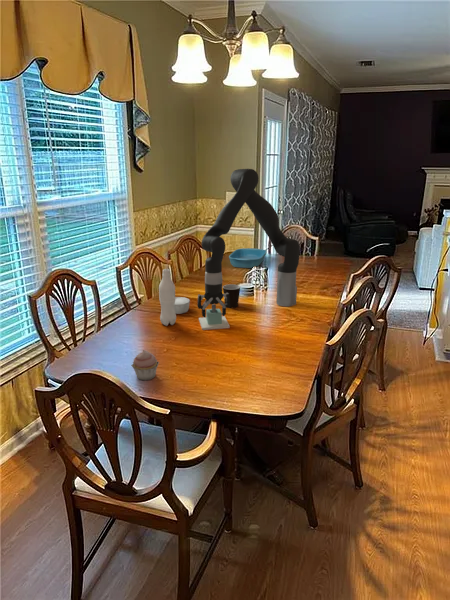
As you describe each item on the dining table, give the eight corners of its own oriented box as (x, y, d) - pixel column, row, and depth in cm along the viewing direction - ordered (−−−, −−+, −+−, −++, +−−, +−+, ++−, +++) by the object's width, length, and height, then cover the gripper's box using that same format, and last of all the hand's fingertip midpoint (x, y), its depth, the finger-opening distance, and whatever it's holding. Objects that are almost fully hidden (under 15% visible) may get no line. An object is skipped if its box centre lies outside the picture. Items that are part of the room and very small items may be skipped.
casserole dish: (237, 256, 323) (238, 246, 321) (268, 258, 318) (268, 248, 316) (225, 269, 290) (225, 258, 287) (259, 271, 284) (259, 260, 282)
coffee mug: (238, 309, 217) (238, 290, 214) (221, 308, 219) (221, 288, 216) (242, 301, 228) (242, 283, 225) (225, 300, 230) (225, 282, 227)
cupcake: (139, 368, 160) (138, 342, 157) (163, 372, 158) (162, 346, 154) (127, 380, 152) (125, 354, 148) (152, 384, 149) (150, 357, 146)
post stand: (224, 318, 207) (224, 299, 204) (229, 327, 196) (229, 308, 193) (198, 319, 205) (198, 301, 202) (202, 329, 193) (202, 310, 190)
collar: (219, 318, 203) (219, 308, 201) (221, 323, 197) (221, 313, 196) (206, 319, 202) (206, 309, 200) (208, 324, 196) (208, 314, 195)
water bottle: (179, 321, 202) (177, 268, 194) (172, 327, 196) (170, 272, 188) (164, 319, 205) (162, 267, 196) (157, 325, 198) (154, 271, 190)
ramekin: (177, 305, 224) (177, 295, 222) (194, 309, 217) (194, 299, 216) (162, 311, 215) (161, 301, 213) (179, 316, 209) (179, 306, 207)
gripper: (228, 278, 198) (227, 312, 204) (196, 279, 196) (196, 314, 201) (231, 283, 191) (231, 318, 197) (198, 284, 189) (199, 320, 194)
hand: (213, 316), depth 199 cm, fingers open, 8 cm apart
